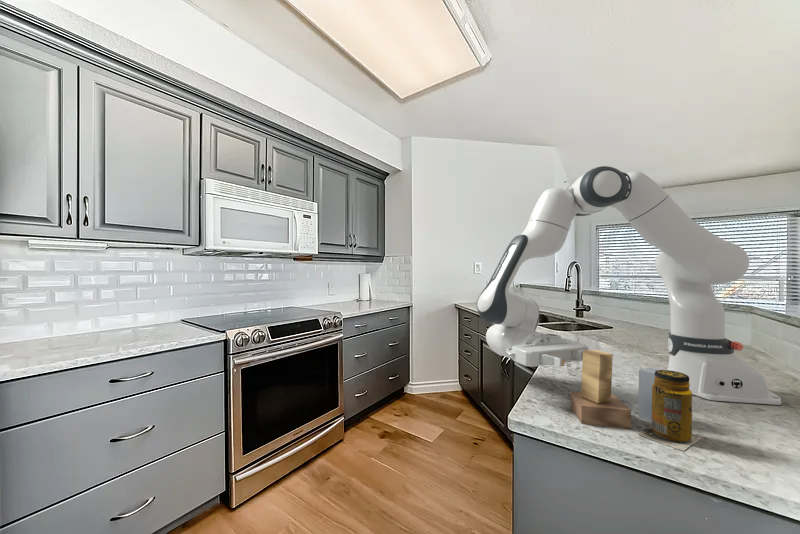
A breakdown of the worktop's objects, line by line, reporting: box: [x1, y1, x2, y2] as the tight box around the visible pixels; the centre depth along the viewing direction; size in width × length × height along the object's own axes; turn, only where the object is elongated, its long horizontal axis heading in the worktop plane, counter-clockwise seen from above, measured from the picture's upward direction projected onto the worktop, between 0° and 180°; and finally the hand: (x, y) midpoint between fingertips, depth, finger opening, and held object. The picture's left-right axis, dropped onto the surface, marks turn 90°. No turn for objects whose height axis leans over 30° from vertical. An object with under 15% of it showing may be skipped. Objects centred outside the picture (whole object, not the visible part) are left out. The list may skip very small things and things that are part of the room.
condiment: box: [636, 369, 701, 452], centre depth 66 cm, size 7×8×12 cm
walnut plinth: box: [569, 390, 632, 429], centre depth 75 cm, size 9×9×4 cm
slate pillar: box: [638, 367, 658, 422], centre depth 74 cm, size 4×4×10 cm
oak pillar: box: [580, 349, 614, 403], centre depth 75 cm, size 4×4×10 cm
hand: (577, 360), depth 79 cm, fingers open, 8 cm apart
